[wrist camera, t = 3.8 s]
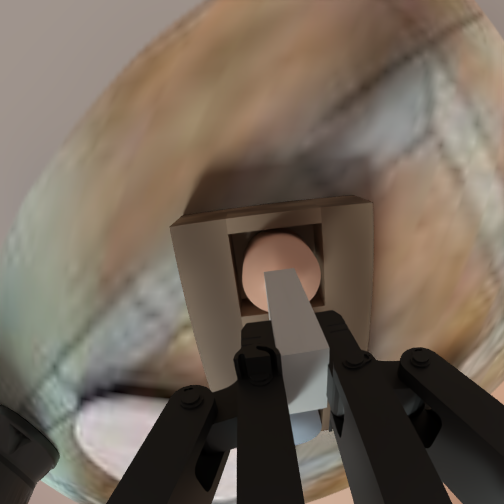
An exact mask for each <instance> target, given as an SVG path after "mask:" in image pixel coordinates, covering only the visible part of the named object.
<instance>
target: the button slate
mask: <svg viewBox="0 0 504 504" xmlns="http://www.w3.org/2000/svg"><path fill="white" fill-rule="evenodd" d="M290 420H291V426H292V431H293V437H294V443H295V445H298V444H302V443H305V442H307V441H309V440H311V439H313V438H314V437H316V436H317V435H318V434H319V432H320V431H321V428H322V424H321V420H320V416H319V412H318V409H317V410H312V411H306V412H300V413H294V414H290Z"/></svg>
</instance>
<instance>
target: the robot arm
mask: <svg viewBox="0 0 504 504" xmlns="http://www.w3.org/2000/svg"><path fill="white" fill-rule="evenodd" d="M264 279H265V287H266V296H267V304H268V313H269V320H267V321H259V322H251V323H246V324H245V326H244V327H243V329H242V330H241V349H240V350H239V351H238V352H237V353H236V354H235V356H234V358H233V361H234V366H235V371H236V375H237V380H236V381H235V382H234V383H233V384H232V385H230V386H229V387H227V388H224V389H221V390H218V391H215V392H212V391H211V390H210V389H208V388H207V387H204V386H201V385H190V386H186V387H183V388H181V389H179V390H178V391H176V392H175V393H174V394H173V395H172V396H171V398H170V399H169V401H168V403H167V404H166V406H165V408H164V409H163V411H162V413H161V414H160V416H159V418H158V419H157V421H156V423H155V424H154V426H153V428H152V429H151V431H150V433H149V434H148V436H147V438H146V439H145V441H144V442H143V444H142V446H141V447H140V449H139V451H138V452H137V454H136V456H135V457H134V459H133V461H132V462H131V464H130V466H129V467H128V469H127V470H126V472H125V474H124V475H123V477H122V479H121V480H120V482H119V484H118V485H117V487H116V489H115V490H114V492H113V493H112V495H111V497H110V498H109V500H108V502H107V503H106V504H211V503H212V501H213V498H214V495H215V492H216V490H217V487H218V484H219V481H220V479H221V476H222V473H223V470H224V467H225V465H226V462H227V459H228V456H229V453H230V449H234V448H237V504H305V503H304V497H303V491H302V485H301V479H300V473H299V467H298V461H297V455H296V449H295V443H294V437H293V431H292V426H291V420H290V414H294V413H300V412H306V411H312V410H317V409H323V408H327V399H328V402H329V405H330V420H329V432H330V431H332V427H333V431H334V434H335V437H336V441H337V444H338V448H339V451H340V455H341V458H342V462H343V465H344V469H345V472H346V476H347V479H348V483H349V486H350V490H351V494H352V497H353V501H354V504H452V502H451V500H450V498H449V496H448V493H447V491H446V489H445V487H444V485H443V483H444V484H445V485H446V486H447V487H448V488H449V489H450V490H451V491H452V493H454V495H455V496H456V497H457V498H458V499H459V500H460V501H461V502H462V503H463V504H504V405H503V404H502V403H500V402H499V401H498V400H497V399H495V398H494V397H493V396H491V395H490V394H489V393H488V392H486V391H485V390H484V389H482V388H481V387H480V386H479V385H477V384H476V383H475V382H473V381H472V380H471V379H469V378H468V377H467V376H465V375H464V374H463V373H462V372H460V371H459V370H458V369H456V368H455V367H454V366H452V365H451V364H450V363H448V362H447V361H446V360H444V359H443V358H442V357H440V356H439V355H438V354H436V353H435V352H433V351H431V350H429V349H426V348H421V347H419V348H412V349H409V350H407V351H405V352H404V353H403V354H402V356H401V358H400V361H378V360H376V359H375V358H374V357H373V356H372V354H371V353H369V352H367V351H364V350H361V349H360V347H359V345H358V343H357V342H356V340H355V338H354V336H353V335H352V333H351V331H350V330H349V328H348V326H347V324H345V321H344V319H343V318H342V316H341V315H340V314H338V313H337V312H335V311H334V310H329V311H323V312H317V313H314V311H313V309H312V306H311V304H310V302H309V300H308V298H307V295H306V293H305V291H304V289H303V286H302V284H301V282H300V280H299V278H298V275H297V273H296V271H295V269H294V268H290V269H282V270H275V271H267V272H264ZM58 460H59V454H58V452H57V451H56V449H55V448H54V447H53V445H52V444H51V443H50V442H49V441H48V440H47V439H46V438H45V437H44V436H43V435H42V434H41V433H40V432H39V431H38V430H36V429H35V428H34V427H33V426H32V425H31V424H29V423H28V422H27V421H26V420H24V419H23V418H22V417H20V416H19V415H18V414H16V413H15V412H13V411H11V410H10V409H8V408H6V407H4V406H1V405H0V504H28V502H29V500H30V497H31V495H32V493H33V490H34V488H35V486H36V484H37V482H38V481H39V480H41V479H42V478H43V477H44V476H45V475H46V474H47V473H48V472H49V471H50V470H51V469H54V468H55V466H56V465H57V463H58ZM441 480H442V481H441ZM442 482H443V483H442Z"/></svg>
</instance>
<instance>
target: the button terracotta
mask: <svg viewBox="0 0 504 504" xmlns="http://www.w3.org/2000/svg"><path fill="white" fill-rule="evenodd" d="M290 268H294V269H295V271H296V273H297V275H298V278H299V280H300V282H301V284H302V286H303V289H304V291H305V293H306V295H307V298H308V300H309V301H310V300H311V299H312V298H313V297H314V295H315V294H316V292H317V290H318V287H319V284H320V279H321V271H320V266H319V263H318V261H317V259H316V257H315V256H314V254H313V253H312V251H311V250H310V248H309V247H308V245H307V244H306V243H305V241H304V240H303V239H302V238H301V237H300V236H299V235H298V234H297V233H295V232H293V231H291V230H288V229H284V228H274V229H267V230H264V231H262V232H260V233H258V234H257V235H256V236H254V237H253V238H252V239H251V240H250V242H249V243H248V245H247V247H246V249H245V251H244V255H243V273H242V282H243V288H244V291H245V293H246V295H247V297H248V298H249V299H250V301H251V302H252V303H253V304H254V305H256V306H257V307H258V308H260V309H262V310H264V311H267V312H268V304H267V296H266V287H265V279H264V272H267V271H275V270H282V269H290Z"/></svg>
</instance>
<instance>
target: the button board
mask: <svg viewBox="0 0 504 504" xmlns="http://www.w3.org/2000/svg"><path fill="white" fill-rule="evenodd" d="M274 228H284V229H288V230H291V231H293V232H295V233H297V234H298V235H299V236H300V237H301V238H302V239H303V240H304V241H305V243H306V244H307V245H308V247H309V248H310V250H311V251H312V253H313V254H314V256H315V257H316V259H317V261H318V263H319V266H320V271H321V279H320V284H319V287H318V290H317V292H316V294H315V295H314V297H313V298H312V299H311V300H310V301H309V302H310V304H311V306H312V309H313V311H314V313H317V312H323V311H329V310H334V311H335V312H337V313H338V314H340V315H341V316H342V318H343V319H344V321H345V324H347V326H348V328H349V330H350V331H351V333H352V335H353V336H354V338H355V340H356V342H357V343H358V345H359V347H360V349H361V350H364V351H367V350H368V341H369V331H370V319H371V306H372V289H373V259H374V225H373V202H370V201H367V200H365V199H362V198H359V197H356V196H354V195H350V196H338V197H327V198H317V199H307V200H298V201H288V202H280V203H271V204H263V205H255V206H247V207H239V208H231V209H224V210H217V211H210V212H203V213H196V214H189V215H183V216H181V217H180V218H179V219H178V220H177V221H176V222H175V223H173V224H172V225H171V226H170V232H171V237H172V242H173V247H174V252H175V257H176V261H177V266H178V270H179V275H180V279H181V284H182V288H183V292H184V296H185V301H186V305H187V309H188V313H189V317H190V320H191V324H192V328H193V332H194V336H195V339H196V343H197V347H198V350H199V354H200V357H201V361H202V364H203V368H204V371H205V374H206V378H207V381H208V384H209V387H210V390H211V391H212V392H215V391H218V390H221V389H224V388H227V387H229V386H230V385H232V384H233V383H234V382H235V381H236V380H237V375H236V371H235V366H234V361H233V358H234V356H235V354H236V353H237V352H238V351H239V350H240V349H241V330H242V329H243V327H244V326H245V324H246V323H251V322H259V321H267V320H269V313H268V312H267V311H264V310H262V309H260V308H258V307H257V306H256V305H254V304H253V303H252V302H251V301H250V299H249V298H248V297H247V295H246V293H245V291H244V288H243V282H242V273H243V255H244V251H245V249H246V247H247V245H248V243H249V242H250V240H251V239H252V238H253V237H254V236H256V235H257V234H258V233H260V232H262V231H264V230H267V229H274ZM318 412H319V416H320V420H321V424H322V428H321V431H324V430H329V420H330V405H329V402H328V399H327V408H323V409H318ZM332 429H333V427H332Z"/></svg>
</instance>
